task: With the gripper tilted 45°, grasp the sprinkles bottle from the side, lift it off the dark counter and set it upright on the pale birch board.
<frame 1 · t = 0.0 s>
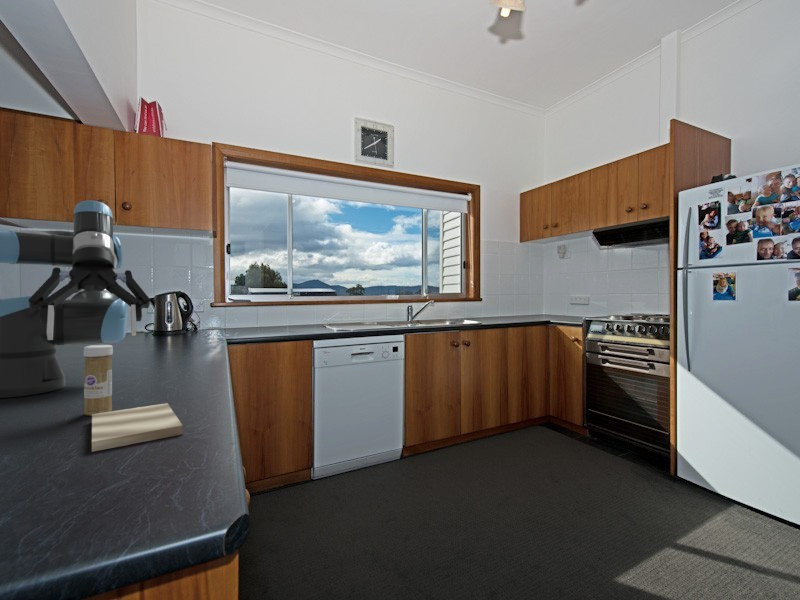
hand: (94, 334, 79), 15 cm above the countertop, tool tilted 35°, fingers open, 13 cm apart
birch board: (135, 427, 68), on the countertop
sprinkles bottle: (98, 413, 77), on the countertop
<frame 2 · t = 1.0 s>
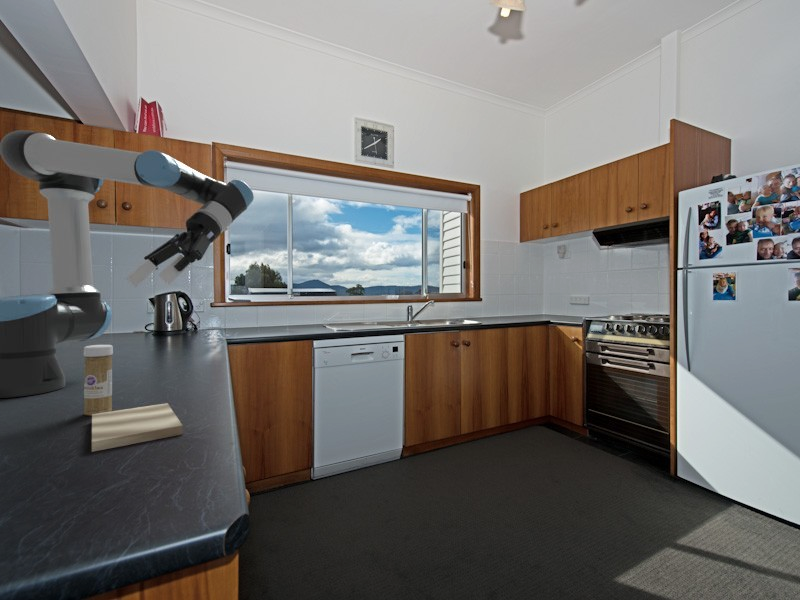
hand: (146, 281, 85), 27 cm above the countertop, tool tilted 45°, fingers open, 13 cm apart
nothing on the countertop moved.
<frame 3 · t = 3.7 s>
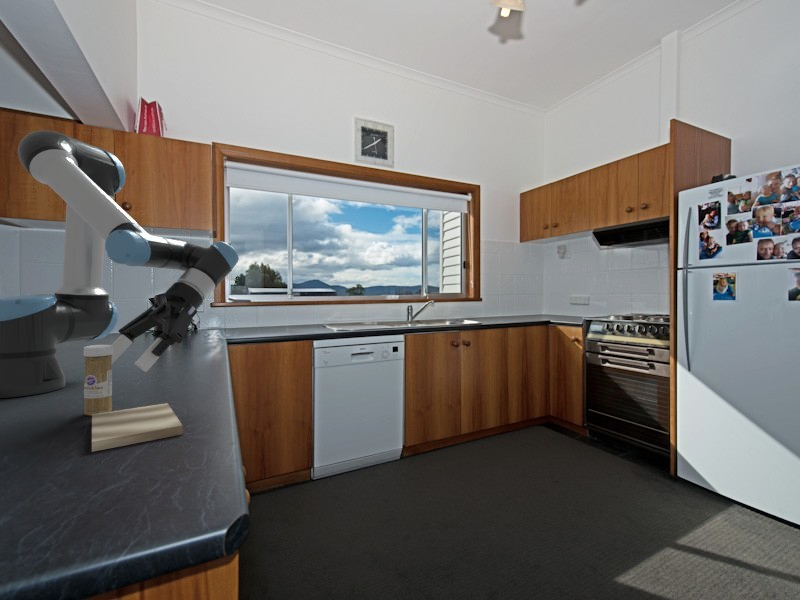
hand: (121, 365, 79), 9 cm above the countertop, tool tilted 45°, fingers open, 13 cm apart
nothing on the countertop moved.
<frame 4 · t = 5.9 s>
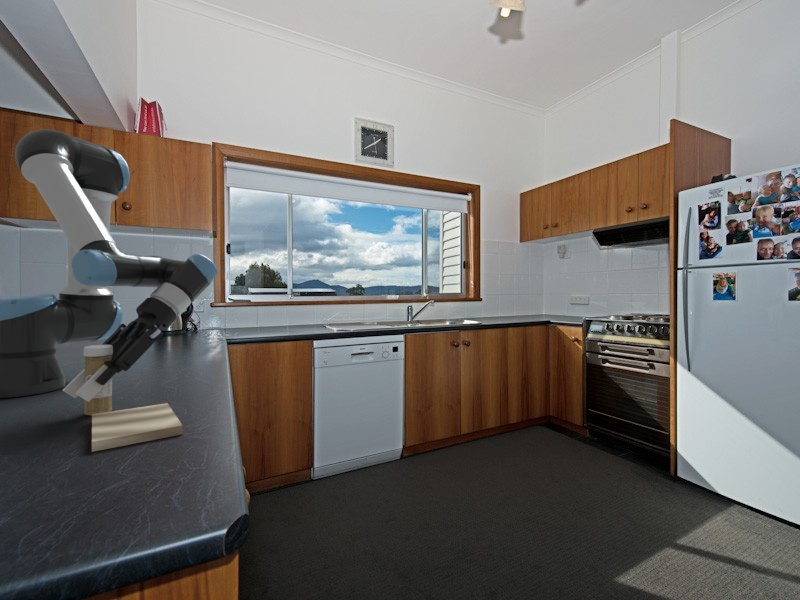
hand: (75, 395, 73), 4 cm above the countertop, tool tilted 45°, fingers closed on sprinkles bottle, 4 cm apart
sprinkles bottle: (98, 413, 77), on the countertop, touching gripper
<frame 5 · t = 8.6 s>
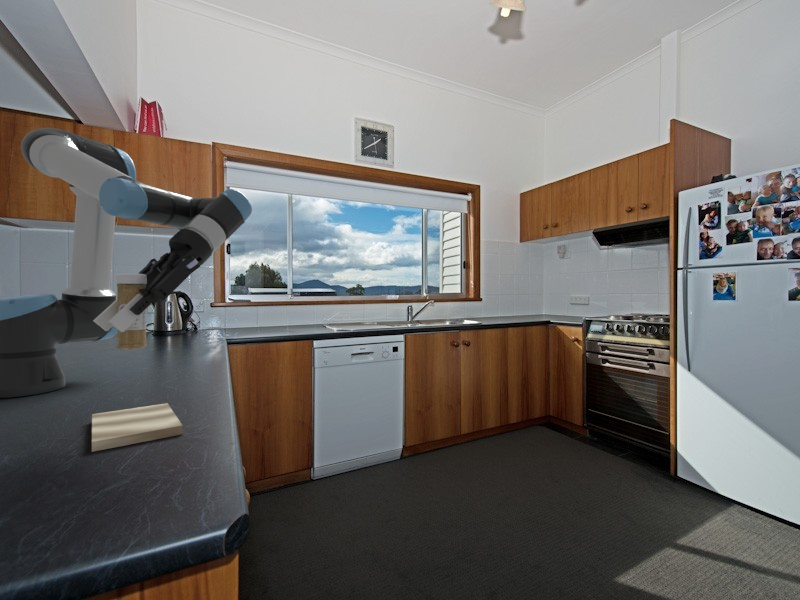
hand: (108, 326, 66), 18 cm above the countertop, tool tilted 45°, fingers closed on sprinkles bottle, 4 cm apart
sprinkles bottle: (132, 349, 69), point 14 cm above the countertop, touching gripper
when the fingers open (6 cm above the countertop, at t = 11.2 s): sprinkles bottle stays where it is, resting on birch board.
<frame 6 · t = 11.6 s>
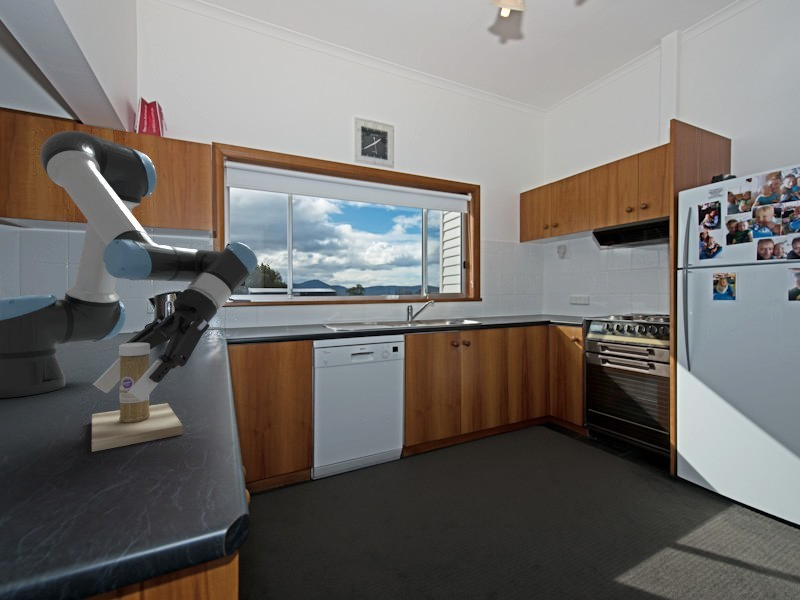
hand: (116, 392, 65), 7 cm above the countertop, tool tilted 45°, fingers open, 10 cm apart
sprinkles bottle: (135, 420, 68), point 1 cm above the countertop, touching birch board
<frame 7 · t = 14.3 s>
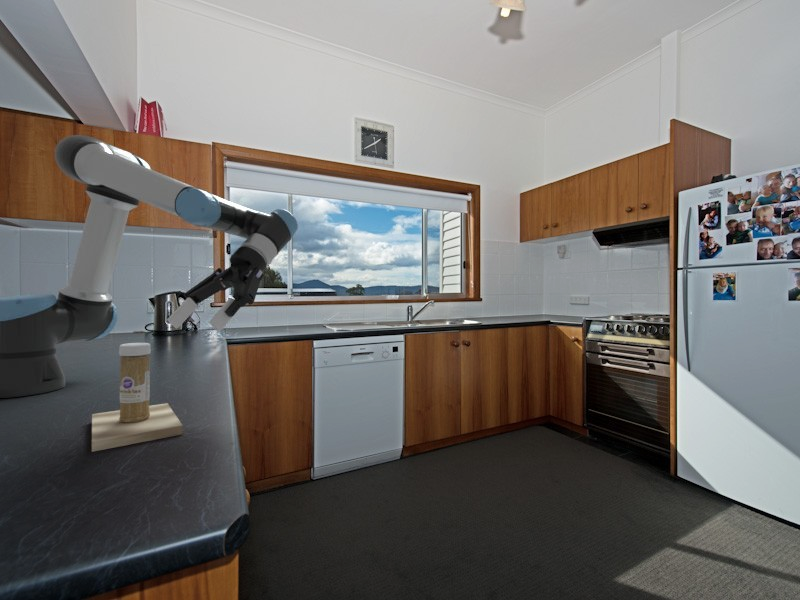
hand: (192, 325, 77), 17 cm above the countertop, tool tilted 45°, fingers open, 13 cm apart
nothing on the countertop moved.
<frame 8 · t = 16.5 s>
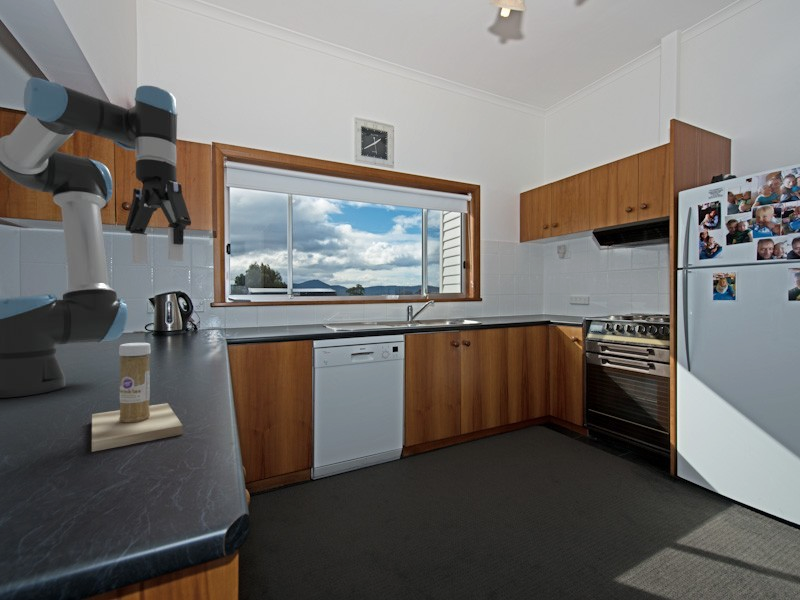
hand: (156, 262, 83), 31 cm above the countertop, tool pointing down, fingers open, 13 cm apart
nothing on the countertop moved.
at the end: sprinkles bottle inside the target area on the birch board (0.2 cm from its centre), point 1.3 cm above the birch board's base; sprinkles bottle tilted 0°; the gripper is holding nothing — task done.
